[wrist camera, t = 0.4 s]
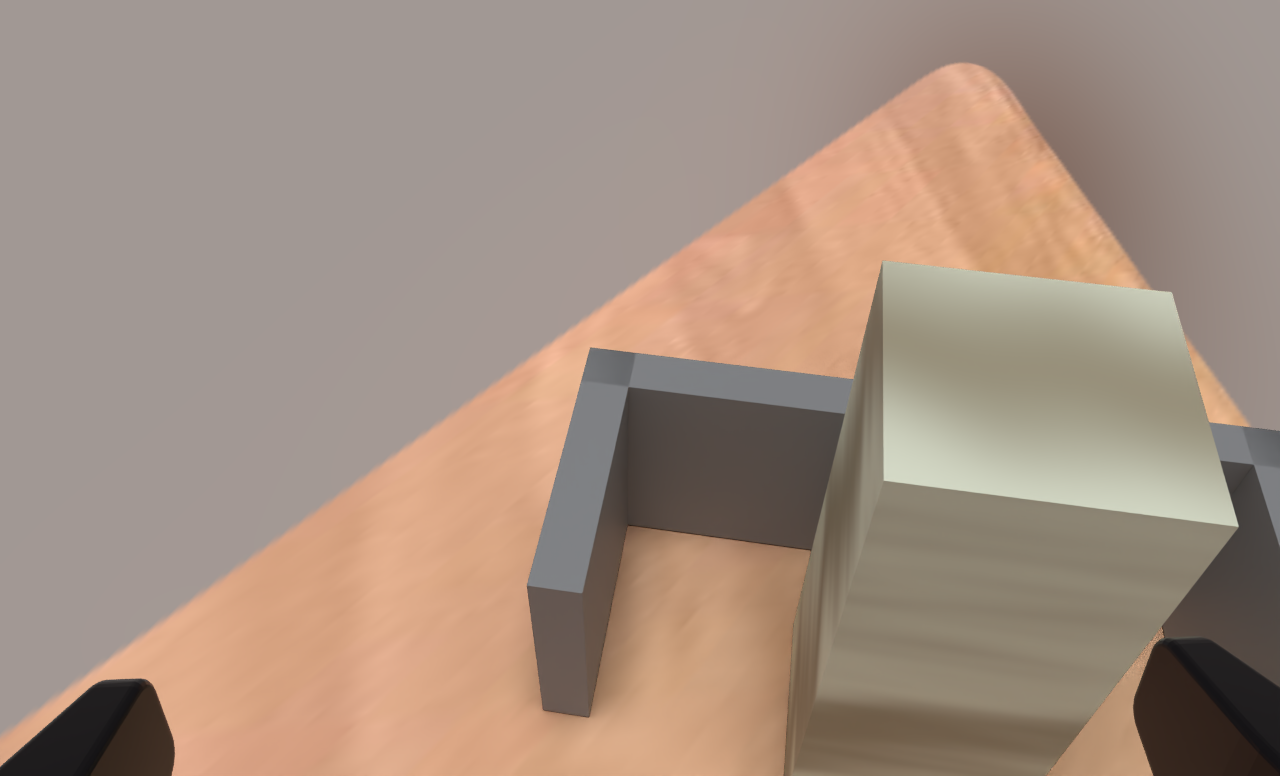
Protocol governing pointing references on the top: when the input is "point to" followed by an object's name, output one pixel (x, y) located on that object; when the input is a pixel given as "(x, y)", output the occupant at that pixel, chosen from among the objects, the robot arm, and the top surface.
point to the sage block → (998, 523)
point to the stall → (793, 501)
